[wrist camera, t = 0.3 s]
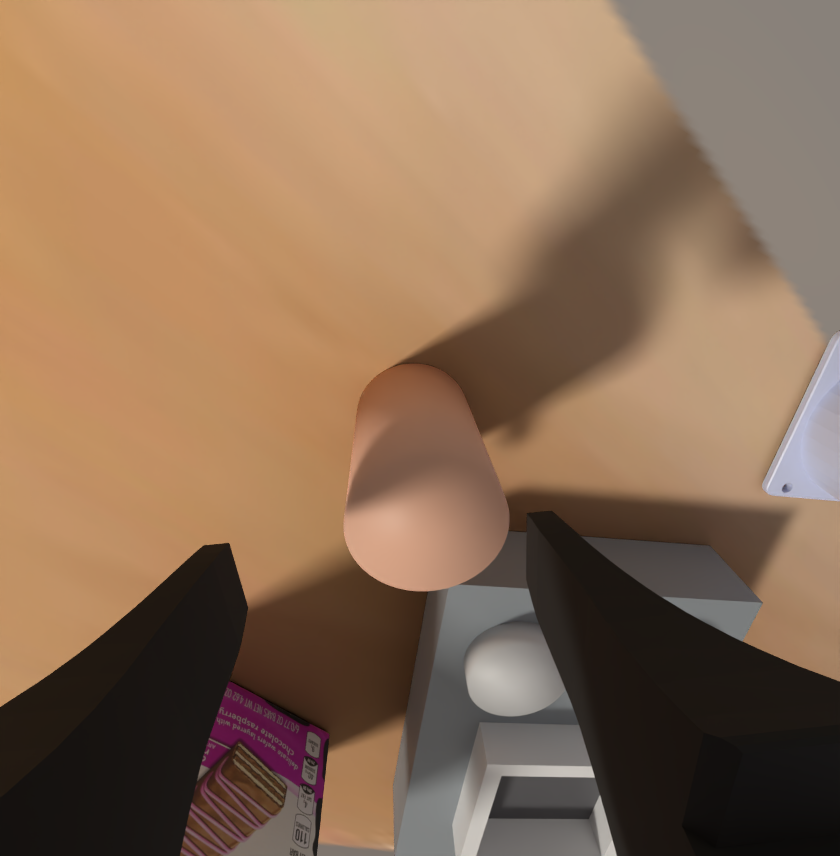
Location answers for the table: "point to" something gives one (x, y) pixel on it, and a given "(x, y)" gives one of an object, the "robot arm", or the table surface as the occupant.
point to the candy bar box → (258, 782)
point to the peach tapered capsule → (421, 484)
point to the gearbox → (522, 708)
